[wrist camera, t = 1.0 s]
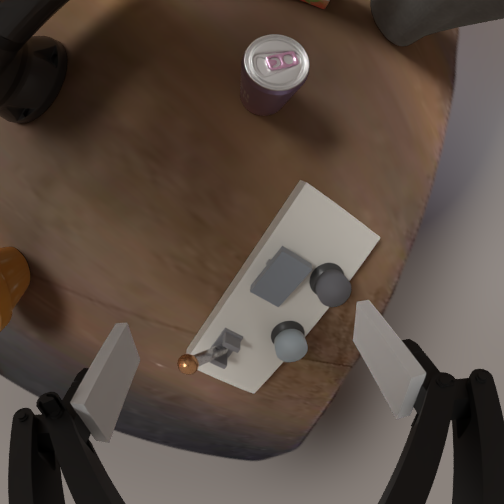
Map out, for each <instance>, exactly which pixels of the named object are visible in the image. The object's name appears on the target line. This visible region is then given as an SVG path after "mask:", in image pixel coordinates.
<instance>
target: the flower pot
mask: <svg viewBox="0 0 504 504" xmlns="http://www.w3.org/2000/svg"><path fill="white" fill-rule="evenodd" d="M29 283H30V270H29V266H28V263H27V261H26V259H25V258H24V256H23V255H22V254H21V253H20V252H19V251H18V250H17V249H16V248H14V247H4V248H0V332H1V331H2V330H3V328H4V327H5V326H6V325H7V324H8V323H9V321H10V319H11V316H12V310H13V308H14V307H15V305H16V304H17V303H18V301H19V300H20V298H21V297H22V295H23V294H24V292H25V291H26V289H27V288H28V286H29Z"/></svg>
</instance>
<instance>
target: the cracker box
mask: <svg viewBox="0 0 504 504" xmlns="http://www.w3.org/2000/svg"><path fill="white" fill-rule="evenodd" d="M301 1H303V2H306V3H309V4H311V5H314V6H316V7H319V8H321V9H325V8H326V6H327V5H328V3H329V1H330V0H301Z"/></svg>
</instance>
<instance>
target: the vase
mask: <svg viewBox="0 0 504 504" xmlns="http://www.w3.org/2000/svg"><path fill="white" fill-rule="evenodd" d="M370 4H371V11H372V15H373V17H374V20H375V22H376V24H377V26H378V28H379V29H380V31H381V32H382V33H383V35H384V36H385V37H386V38H387V39H388V40H389V41H391V42H392V43H394V44H395V45H398V46H408V45H410V44H412V43H413V42H415V41H417V40H419V39H420V38H422V37H424V36H426V35H430V34H433V33H436V32H440V31H444V30H448V29H452V28H457V27H461V26H467V25H472V24H477V23H482V22H487V21H492V20H498V19H503V18H504V0H371V3H370Z"/></svg>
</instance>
